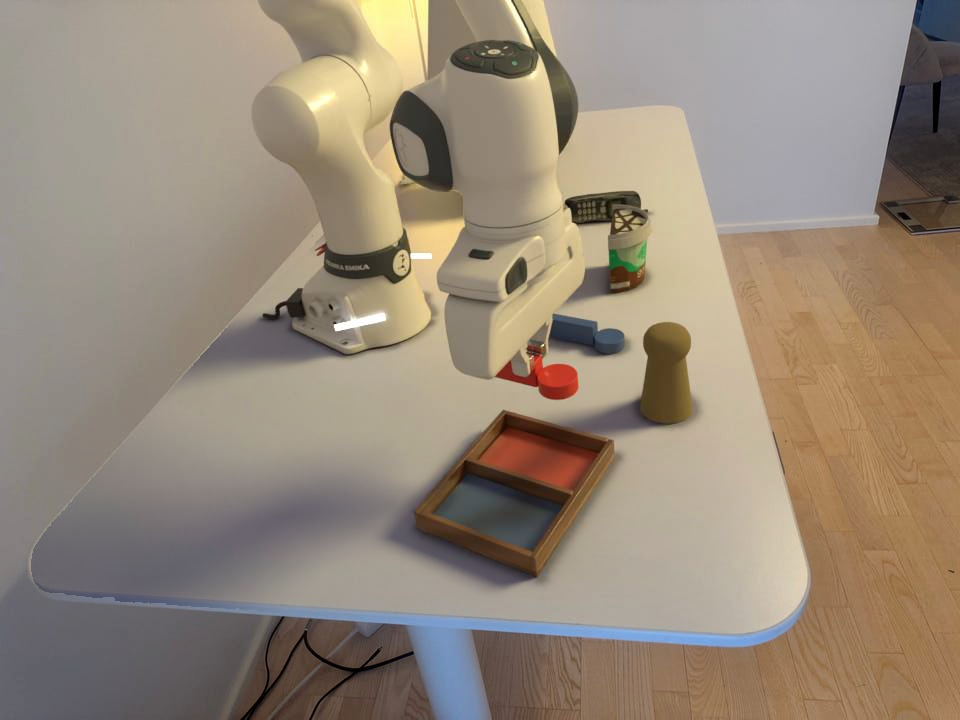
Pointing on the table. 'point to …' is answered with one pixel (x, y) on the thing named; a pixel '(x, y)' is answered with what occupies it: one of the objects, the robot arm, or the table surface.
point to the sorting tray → (516, 490)
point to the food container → (627, 247)
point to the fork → (406, 181)
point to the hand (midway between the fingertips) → (531, 364)
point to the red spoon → (546, 378)
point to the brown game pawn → (666, 374)
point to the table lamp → (467, 31)
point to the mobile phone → (600, 205)
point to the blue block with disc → (587, 333)
